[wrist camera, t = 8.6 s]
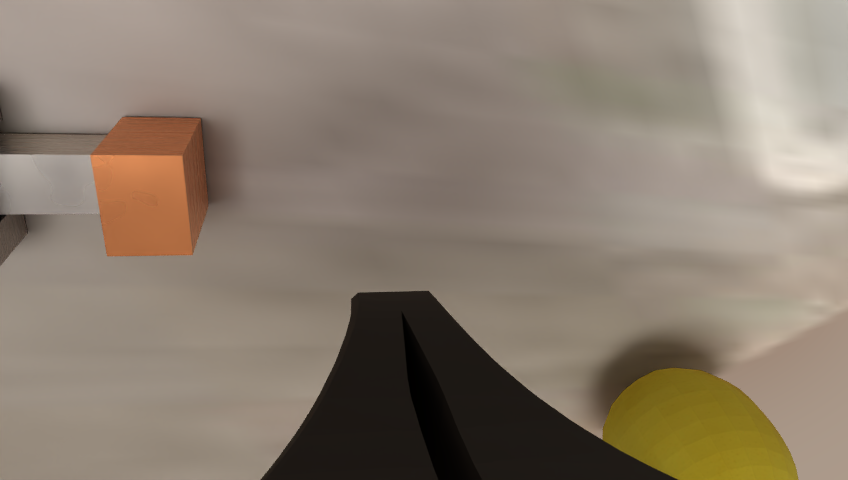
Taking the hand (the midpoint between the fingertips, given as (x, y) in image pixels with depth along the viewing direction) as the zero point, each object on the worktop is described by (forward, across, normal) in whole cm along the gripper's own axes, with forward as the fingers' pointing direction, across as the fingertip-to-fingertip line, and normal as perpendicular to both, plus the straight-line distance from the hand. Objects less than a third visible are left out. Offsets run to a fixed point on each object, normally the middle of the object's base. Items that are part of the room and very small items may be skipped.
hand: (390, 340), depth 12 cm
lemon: (+9, -11, +9) cm, 17 cm away
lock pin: (+9, +8, 0) cm, 12 cm away
